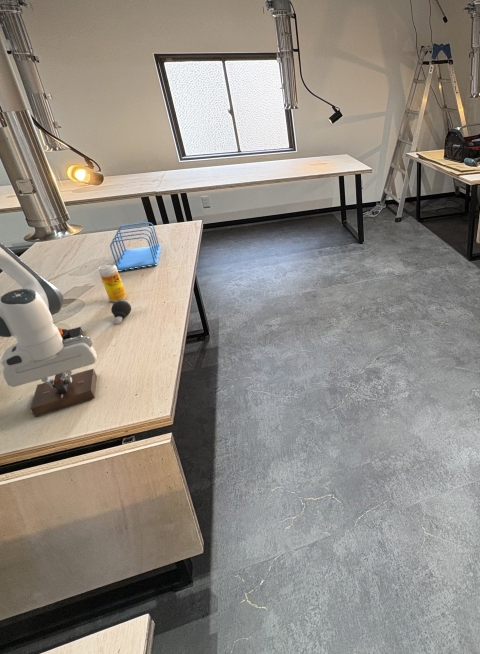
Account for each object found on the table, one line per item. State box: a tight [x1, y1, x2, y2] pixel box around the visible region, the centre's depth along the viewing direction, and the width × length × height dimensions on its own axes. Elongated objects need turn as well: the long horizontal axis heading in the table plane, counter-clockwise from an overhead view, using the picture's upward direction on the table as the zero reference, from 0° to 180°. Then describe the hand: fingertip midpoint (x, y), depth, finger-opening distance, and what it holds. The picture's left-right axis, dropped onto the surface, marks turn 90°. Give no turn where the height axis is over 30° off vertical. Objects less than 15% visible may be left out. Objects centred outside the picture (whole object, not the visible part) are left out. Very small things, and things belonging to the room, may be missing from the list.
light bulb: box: [110, 300, 132, 325], centre depth 155 cm, size 6×6×10 cm
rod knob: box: [53, 372, 68, 394], centre depth 117 cm, size 6×2×4 cm, turn 30°
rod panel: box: [30, 368, 98, 418], centre depth 119 cm, size 14×11×3 cm
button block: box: [61, 326, 84, 340], centre depth 142 cm, size 12×10×4 cm
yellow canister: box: [98, 263, 127, 303], centre depth 167 cm, size 6×6×15 cm
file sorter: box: [109, 221, 162, 273], centre depth 202 cm, size 25×17×15 cm
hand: (62, 384), depth 118 cm, fingers closed on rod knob, 2 cm apart
